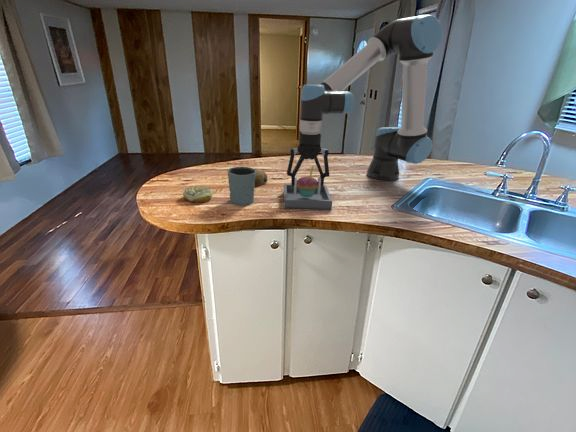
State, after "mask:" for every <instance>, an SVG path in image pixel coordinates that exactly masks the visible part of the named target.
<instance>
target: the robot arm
mask: <svg viewBox="0 0 576 432" xmlns="http://www.w3.org/2000/svg"><path fill="white" fill-rule="evenodd" d="M442 38H443V27H442V25H441V22H440V20H438V18H437V17H436V16H434V15H432V14H420V15H417V16H409V17H403V18H398V19H395V20H392V21H390V22H389V23H388V24H386V25H385V26H383V27H382V28H381V29H379V30H378V31H377V32H376V33H375V34H373V35H372V36H371V37H369V39H368V40H367V44H366V45H365V46H364V47H362V48H361V49H360V50H359V51H358V52H356V53H355V54H353V56H351V57H350V58H349V59H348V60H347V61H345V63H343V64H341V66H340V67H339V68H338V69H336V70H335V71H334V72H333V73H331V74H330V75H329V76H328V77H327V78H326V79H324V80H323V81H322V82H321V83H319V84H310V83H309V84H303V86H302V87H301V93H300V94H301V96H300V116H299V117H300V119H299V132H300V133H299V137H298V138H299V139H298V146H297V147H295V148H294V147H291V148H290V149H289V150H290V157H289V160H288V164H287V169H286V170H287V171H286V176H288V177H291V180H290V181H291V182H290V184H292V185H294V195H296V187H297V186H296V184H297V180H298V177H297V174H298V171H299V169H300V168H301V166H302V164H303V162H304V160H312V161H313V160H314V162H315V164H316V165H315V166H316V168H317V170H318V172H319V175H318V177H317V181H318V184H319V185H318V188H317V194H318V195H320V187H321V186H323V185H325V184H324V183H325V182H324V181H325V178H327V177H330V169H329V159H328V156H329V152H330V151H329V150H328V148H322V147H321V141H322V140H321V139H322V135H321V133H322V125H323V117H324V116H323V115H344V114H346V115H347V114H350V113H351V111H353V109H354V107H355V96H354V94H353V93H352V92H350V91H346V89H347V88H348V87H349V86H350V85H351V84H353V83H354V82H355V81H356V80H357V79H359V78H360V77H361V76H362V75H363V74H365V73H366V72H367V71H368V70H369V69H370V68H371V67H373V66H374V65H375V64H376V63H378V62H382V61H384V60H385V59H386V58H388V57H390V56H393V55H399V56H398V57H399V60H398V61H399V62H400V64H402V91H401V92H402V93H401V121H400V122H401V123H400V126H401V127H399V126H395V127H394V126H386V127H383V126H382V127H379V128H378V129H377V131H376V134H375V140H374V146H373V152H372V153H373V155H372V158H371V160H370V161H371V162H370V163H369V166H368V168H367V170H366V175H367V176H368V177H369V178H371V179H375V180H379V181H380V180H381V181H395V180H398V179H399V178H400V168H399V160H401V161H404V162H406V163H407V164H413V165H418V164H421V163H422V162H425V160H426V159H427V158H428V157H429V156H430V154H431V151H432V150H433V140H432V139H431V138H430V137H428V129H427V128H426V127H425V126H424V122H425V121H424V120H425V109H426V108H425V107H426V95H427V94H426V93H427V79H428V77H427V76H428V66H429V65H428V64H429V61H430V60H431V59H432V58H433V57H434V56H433V55H434V52H435V51H436V50H437V49H438V48H439V46H440V45H439V44H441V42H442ZM297 152H298V153H299V154H300V156H299V159H298V161H297V162H296V164H295V167H294V168H293V163H294V159H295V155H297ZM320 153H321V154H322V156H323V166H324V172H323V170H322V167H321V163H320V161H319V159H318V156H319V154H320ZM292 168H293V170H292Z"/></svg>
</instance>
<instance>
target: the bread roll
mask: <svg viewBox="0 0 576 432" xmlns="http://www.w3.org/2000/svg"><path fill="white" fill-rule="evenodd" d="M254 169H255V170H256V176H255V183H254V184H255V186H256V187H257V186H263V185H264V186H265V185H266V184H267V182H268V174H267V173H266V172H265V171H264V170H263V169H262V168H254Z"/></svg>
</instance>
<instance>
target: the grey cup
mask: <svg viewBox="0 0 576 432" xmlns="http://www.w3.org/2000/svg"><path fill="white" fill-rule="evenodd" d="M255 169H256V168H252V167H249V166H232V167H230V168H228V169H227V178H228V189H229V199H230V203H231V204H232V205H234V206H241V207H242V206H244V207H245V206H249V205H252V204H253V203H254V199H255V198H254V197H255V186H256V185H255V184H254V183H255V176H256V170H255Z"/></svg>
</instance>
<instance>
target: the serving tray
mask: <svg viewBox="0 0 576 432" xmlns="http://www.w3.org/2000/svg"><path fill="white" fill-rule="evenodd" d="M283 206H284V207H283V208H284V209H283V210H307V211H308V210H309V211H310V210H313V211H314V210H315V211H332V210H333V209H332V208H333V200H332V196H331V194H330V192H329V188H328V187H327V184H323V186H321V187H320V195H318V194H317V188H316V189H315V191H314V194H313V196H312V197H303V196H301V195H300V191H299V188H297V187H296V195H294V185H292V184H291V183H283Z"/></svg>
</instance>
